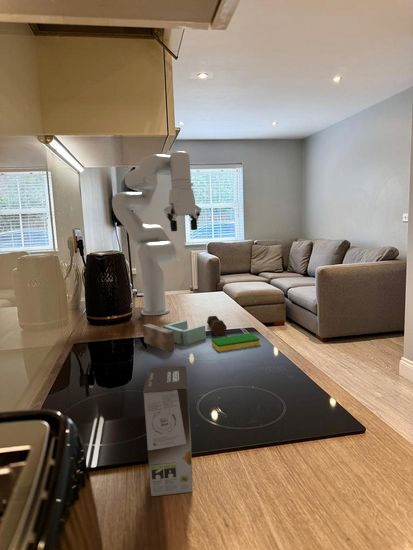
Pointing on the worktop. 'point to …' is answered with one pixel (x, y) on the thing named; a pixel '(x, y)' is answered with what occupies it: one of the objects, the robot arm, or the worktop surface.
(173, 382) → the coffee box
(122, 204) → the robot arm
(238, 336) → the dish sponge
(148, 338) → the wooden plank
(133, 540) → the worktop surface
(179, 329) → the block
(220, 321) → the bolt
